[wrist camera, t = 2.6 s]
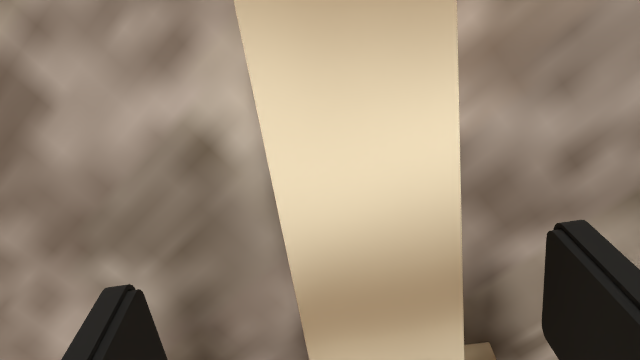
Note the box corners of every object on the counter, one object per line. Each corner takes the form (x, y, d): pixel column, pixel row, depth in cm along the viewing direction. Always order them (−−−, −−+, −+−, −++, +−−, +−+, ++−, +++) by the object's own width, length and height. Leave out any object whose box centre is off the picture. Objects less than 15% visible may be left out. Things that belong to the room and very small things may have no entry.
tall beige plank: (169, -39, 12) (86, -28, 8) (491, -91, 12) (602, -111, 7) (278, 384, 19) (267, 524, 14) (488, 360, 18) (545, 496, 14)
